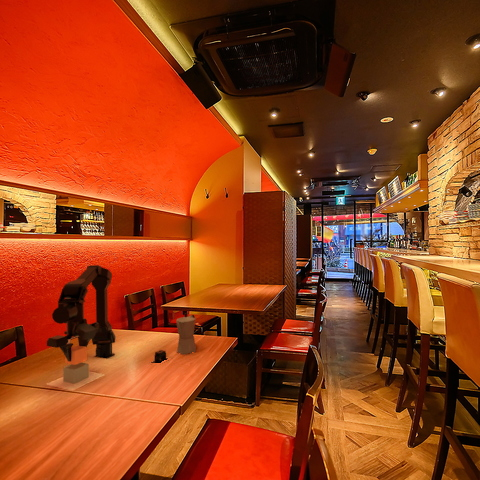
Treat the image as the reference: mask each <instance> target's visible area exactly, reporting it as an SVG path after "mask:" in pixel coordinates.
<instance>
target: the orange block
mask: <svg viewBox="0 0 480 480" xmlns="http://www.w3.org/2000/svg"><path fill="white" fill-rule="evenodd" d="M87 347H88V346H87ZM87 347H85V346H79V344H78V345H74V346H72V347H71V361H70V362H69V361H68V360H67V358H66V356H65V355H64V356H65V358H64V359H65V364H69V365H71V364H72V365H76V364H79V363H84V362H85V361H87V360H88V358H87V357H88V353H87V349H88V348H87Z"/></svg>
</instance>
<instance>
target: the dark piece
mask: <svg viewBox="0 0 480 480" xmlns="http://www.w3.org/2000/svg"><path fill="white" fill-rule="evenodd" d="M166 351H167V350H163V349H160V350H158V351H155V352H154V356H153V357H154V360H152V361H153V362H152V361H150V362H151V363H161V362H162V361H164V360H167V359H168V358H166V357H167V352H166Z"/></svg>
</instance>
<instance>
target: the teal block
mask: <svg viewBox="0 0 480 480" xmlns="http://www.w3.org/2000/svg"><path fill="white" fill-rule="evenodd" d="M89 365H90V364H89V363H86V362H81V363H79V364H76V365H72V364H69V365H66V366H63V369H62V370H63V371H62V374H63V375H62V377H63V381H64V382H69V383H73V384H76V383H78V382H80V381H82V380H84V379H86V378H88V377H89V371H90V366H89Z"/></svg>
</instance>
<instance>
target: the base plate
mask: <svg viewBox="0 0 480 480" xmlns="http://www.w3.org/2000/svg"><path fill="white" fill-rule="evenodd" d="M103 376H106V374H104V373H100V372H95V371H91V370H89V377H88V378H86V379H84V380H82V381H80V382H78V383H76V384H73V383H69V382H64V381H63V376H61V377H59V378H56V379H55V380H52V381H50V382H47V383H45V385H47V386H50V387H55V388H59V389H64V390H68V391H72V392H73V391H75V390H77V389H79V388H81V387H83V386H85V385H88V384H89V383H92V382H94V381H95V380H97V379H100V378H102V377H103Z"/></svg>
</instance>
